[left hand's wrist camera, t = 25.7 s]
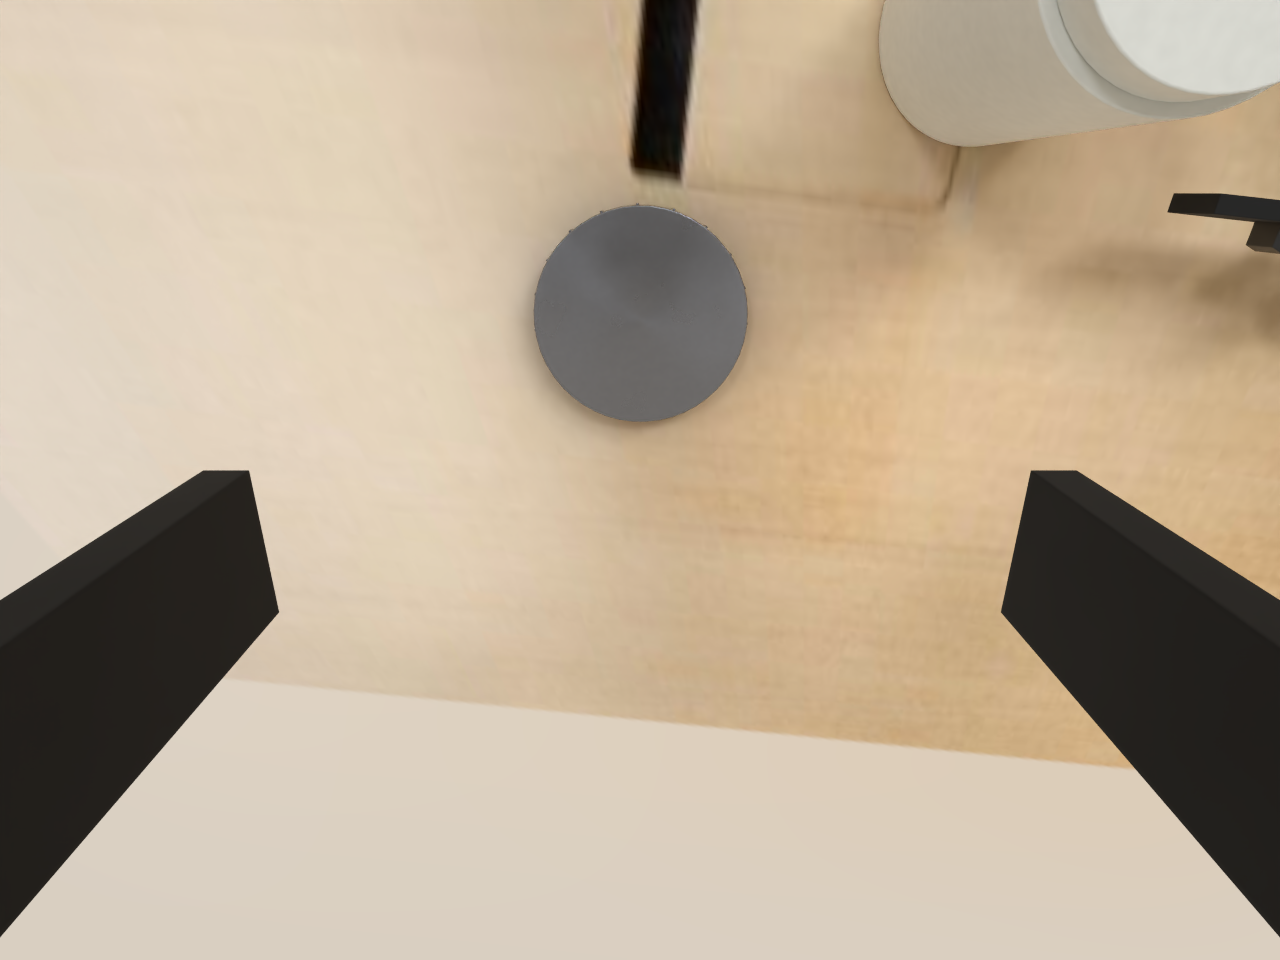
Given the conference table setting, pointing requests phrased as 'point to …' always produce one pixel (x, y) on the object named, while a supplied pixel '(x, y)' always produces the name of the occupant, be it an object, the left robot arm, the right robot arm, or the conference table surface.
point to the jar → (1071, 63)
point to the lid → (640, 313)
